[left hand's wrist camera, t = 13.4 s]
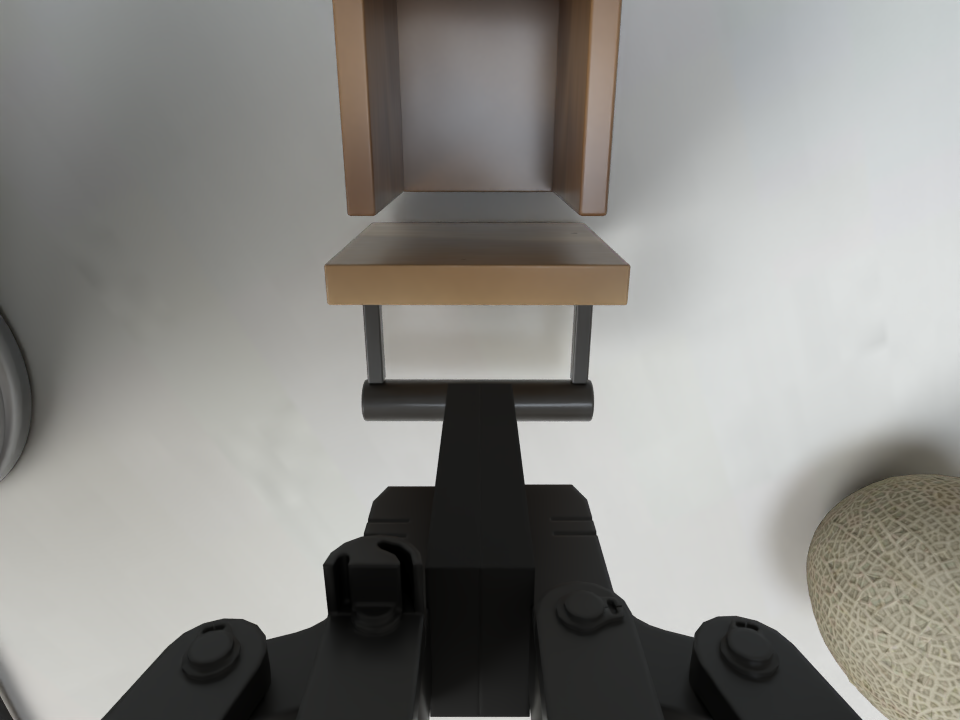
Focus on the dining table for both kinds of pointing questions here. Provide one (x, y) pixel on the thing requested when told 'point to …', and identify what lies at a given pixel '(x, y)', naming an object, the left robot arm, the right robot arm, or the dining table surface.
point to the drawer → (477, 173)
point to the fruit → (893, 593)
